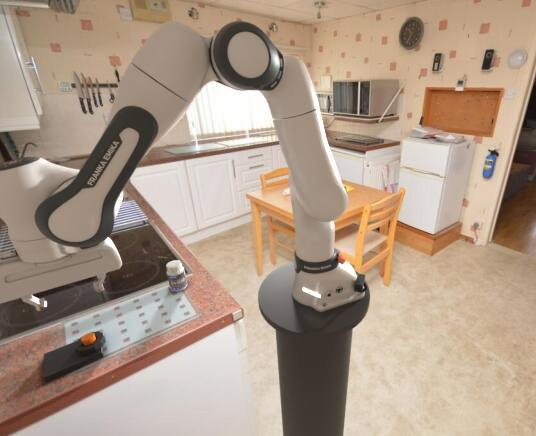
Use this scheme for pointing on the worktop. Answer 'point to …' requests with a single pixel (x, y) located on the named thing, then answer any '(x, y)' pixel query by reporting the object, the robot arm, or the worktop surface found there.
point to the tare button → (88, 339)
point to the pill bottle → (176, 275)
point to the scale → (72, 357)
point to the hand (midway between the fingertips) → (72, 298)
